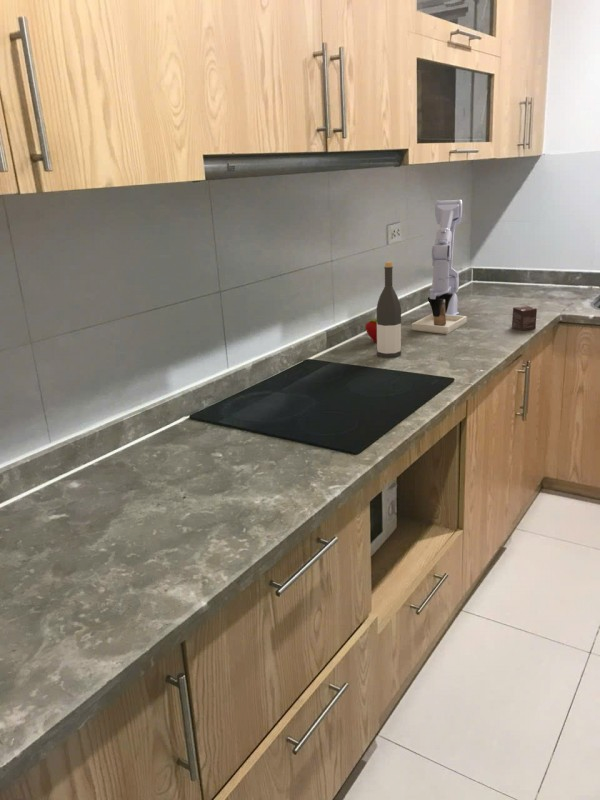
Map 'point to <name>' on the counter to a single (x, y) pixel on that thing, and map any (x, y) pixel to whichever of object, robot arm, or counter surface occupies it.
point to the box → (524, 318)
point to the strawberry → (372, 329)
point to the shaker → (441, 316)
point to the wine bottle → (388, 319)
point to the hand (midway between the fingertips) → (439, 314)
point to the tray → (428, 325)
